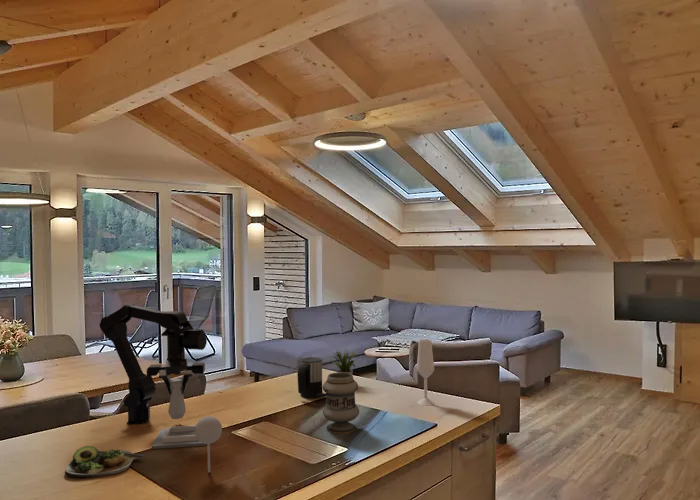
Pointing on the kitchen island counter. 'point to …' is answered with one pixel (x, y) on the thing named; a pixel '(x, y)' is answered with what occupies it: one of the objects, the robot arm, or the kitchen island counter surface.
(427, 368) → the champagne flute
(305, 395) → the milk frother
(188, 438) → the socket board
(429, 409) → the kitchen island counter surface
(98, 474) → the salad plate
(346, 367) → the house plant
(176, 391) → the salt shaker
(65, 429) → the kitchen island counter surface
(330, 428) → the apothecary jar
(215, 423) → the lollipop
